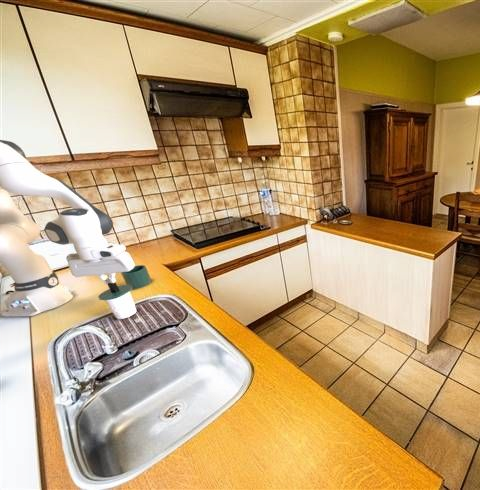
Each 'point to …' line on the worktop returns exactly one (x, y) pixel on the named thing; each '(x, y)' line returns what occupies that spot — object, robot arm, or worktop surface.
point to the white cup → (122, 306)
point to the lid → (114, 291)
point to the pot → (137, 277)
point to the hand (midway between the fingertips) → (111, 282)
